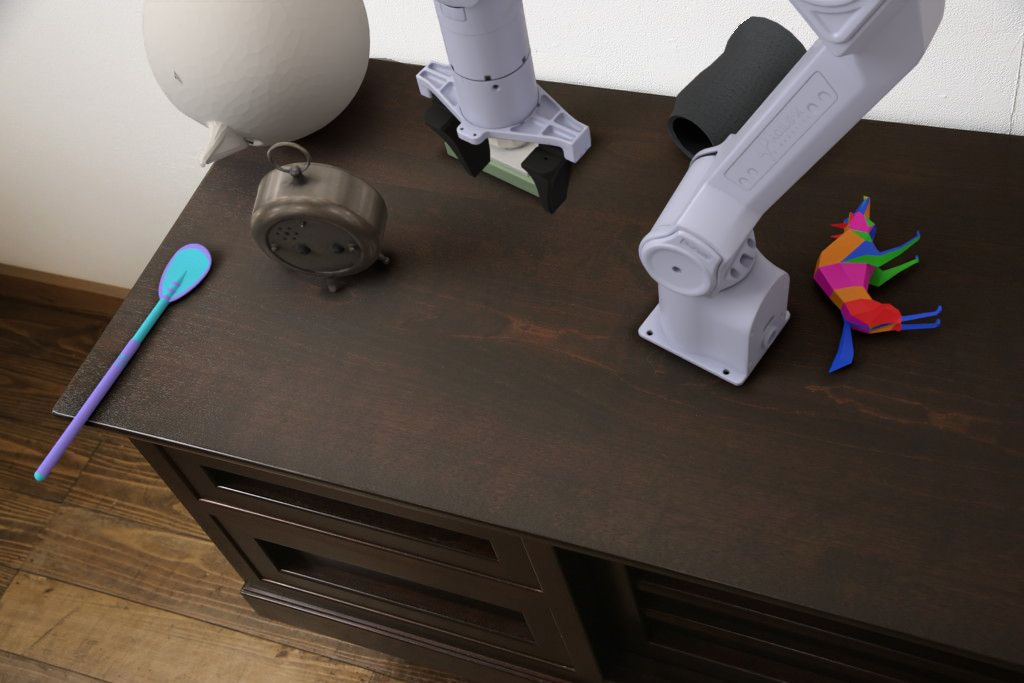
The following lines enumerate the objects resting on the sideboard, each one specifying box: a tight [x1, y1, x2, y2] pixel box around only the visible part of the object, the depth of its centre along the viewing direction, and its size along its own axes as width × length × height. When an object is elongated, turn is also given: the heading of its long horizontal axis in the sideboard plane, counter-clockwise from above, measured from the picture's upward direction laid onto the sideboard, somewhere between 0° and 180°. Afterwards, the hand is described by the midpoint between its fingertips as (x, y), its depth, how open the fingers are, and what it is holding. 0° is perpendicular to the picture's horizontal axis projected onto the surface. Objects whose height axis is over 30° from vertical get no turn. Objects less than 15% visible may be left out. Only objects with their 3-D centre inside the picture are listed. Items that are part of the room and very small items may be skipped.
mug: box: [667, 15, 808, 160], centre depth 94 cm, size 12×9×11 cm
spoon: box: [33, 242, 213, 482], centre depth 93 cm, size 25×4×1 cm, turn 156°
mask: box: [141, 0, 371, 168], centre depth 100 cm, size 22×18×20 cm
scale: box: [444, 128, 592, 198], centre depth 100 cm, size 11×8×2 cm
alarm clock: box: [249, 141, 390, 293], centre depth 89 cm, size 11×5×16 cm, turn 84°
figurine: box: [813, 195, 943, 374], centre depth 85 cm, size 4×15×9 cm
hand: (517, 186), depth 85 cm, fingers open, 7 cm apart
